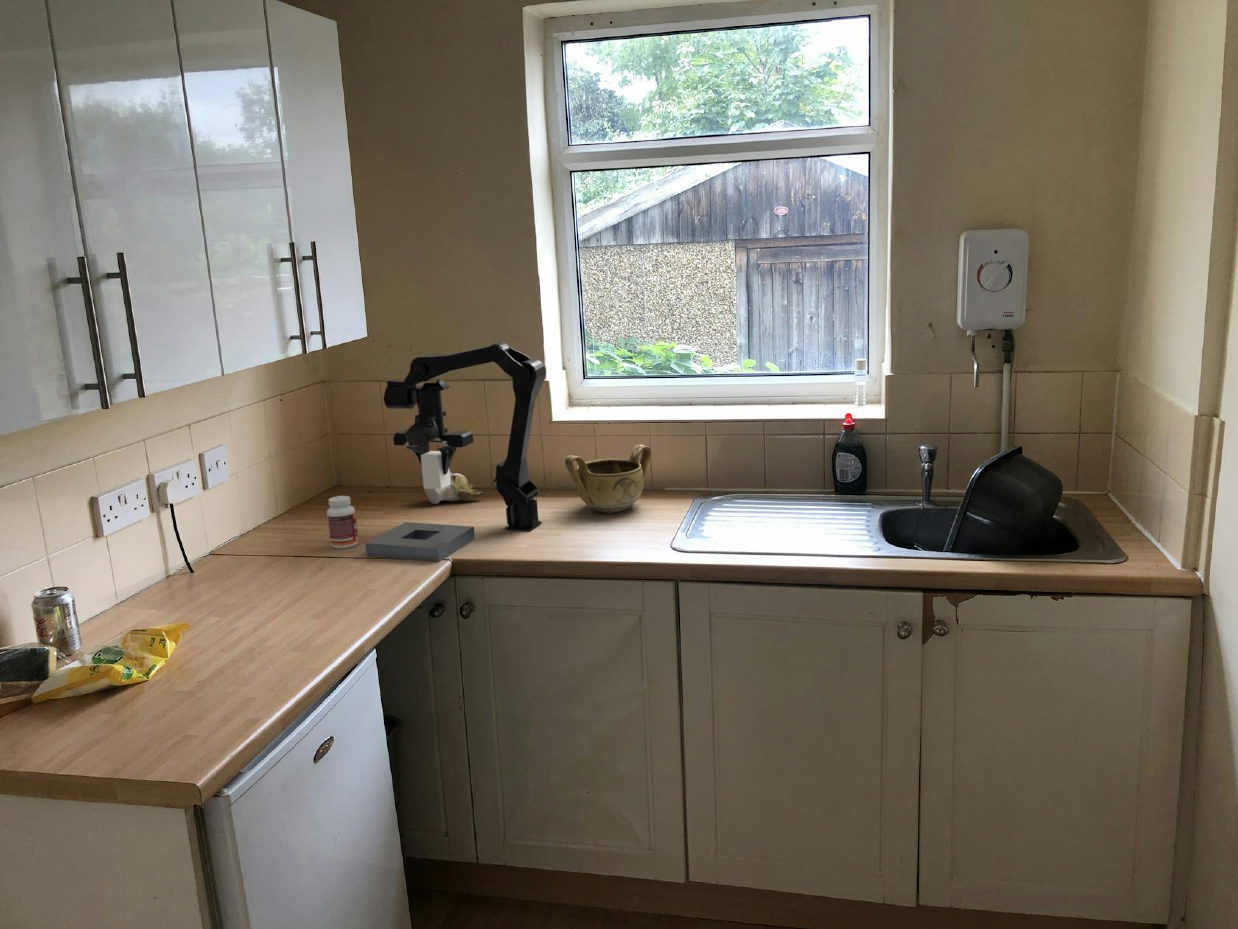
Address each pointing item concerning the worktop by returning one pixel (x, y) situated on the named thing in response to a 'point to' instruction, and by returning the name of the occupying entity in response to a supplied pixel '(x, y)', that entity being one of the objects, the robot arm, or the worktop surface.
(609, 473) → the ceramic bowl
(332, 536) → the pill bottle
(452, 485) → the ceramic sculpture
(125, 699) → the worktop surface
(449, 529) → the jig plate
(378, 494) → the worktop surface
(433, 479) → the white rectangular block
